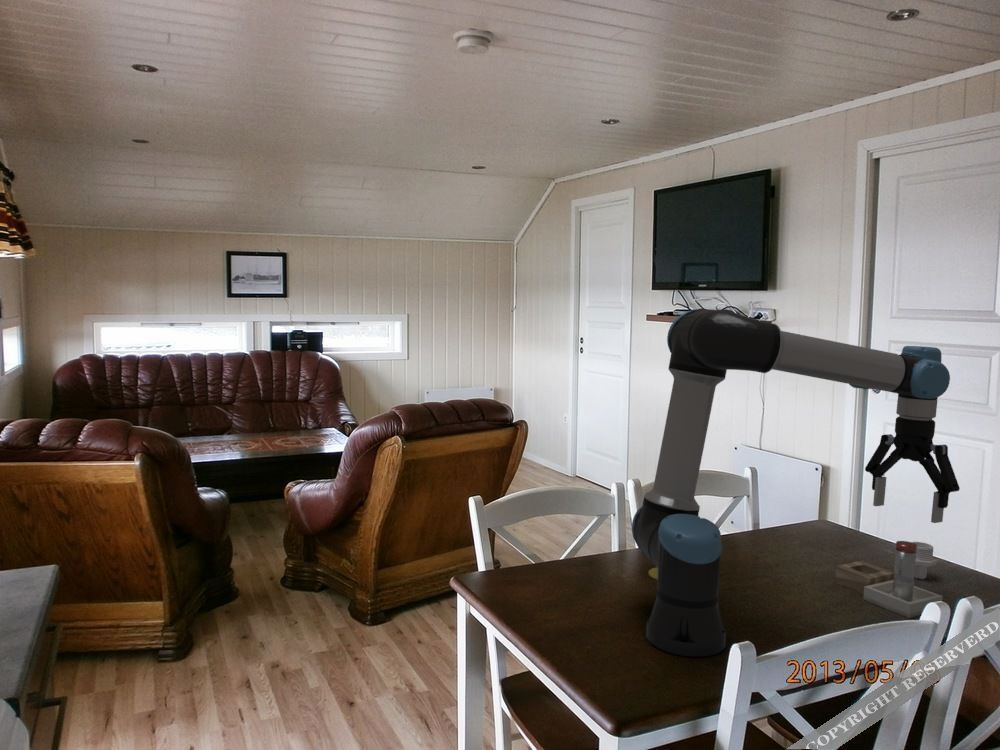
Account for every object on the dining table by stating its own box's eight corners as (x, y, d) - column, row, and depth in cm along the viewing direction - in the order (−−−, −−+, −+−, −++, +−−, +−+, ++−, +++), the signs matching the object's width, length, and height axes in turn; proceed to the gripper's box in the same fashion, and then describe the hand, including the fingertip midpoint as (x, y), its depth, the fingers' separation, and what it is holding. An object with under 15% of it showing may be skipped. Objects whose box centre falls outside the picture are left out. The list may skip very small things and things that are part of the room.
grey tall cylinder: (904, 605, 163) (909, 547, 161) (888, 599, 166) (892, 542, 165) (916, 602, 164) (920, 545, 163) (899, 596, 168) (903, 539, 167)
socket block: (868, 595, 170) (869, 578, 170) (834, 582, 178) (835, 566, 178) (894, 589, 174) (895, 572, 174) (860, 576, 182) (861, 560, 182)
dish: (909, 618, 158) (910, 604, 158) (863, 599, 168) (864, 586, 167) (941, 609, 163) (942, 596, 163) (895, 591, 173) (896, 579, 172)
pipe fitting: (898, 575, 183) (900, 544, 182) (912, 570, 187) (914, 539, 187) (925, 583, 178) (928, 551, 177) (939, 577, 182) (941, 545, 182)
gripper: (985, 426, 152) (974, 528, 154) (875, 408, 174) (867, 497, 176) (962, 427, 149) (952, 531, 151) (853, 409, 171) (845, 500, 173)
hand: (906, 513), depth 163 cm, fingers open, 13 cm apart
